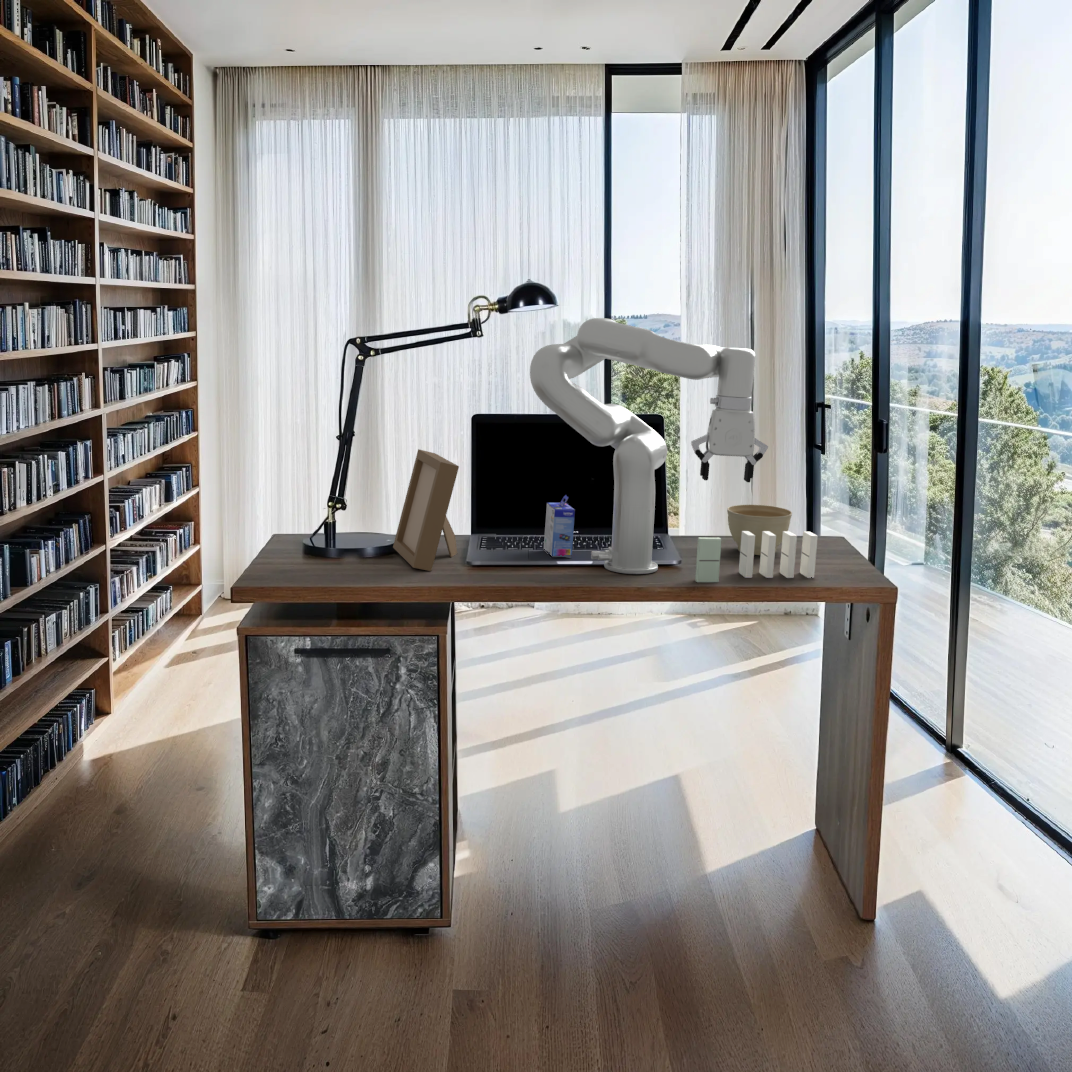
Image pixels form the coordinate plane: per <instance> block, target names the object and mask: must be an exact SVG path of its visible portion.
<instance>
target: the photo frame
mask: <svg viewBox="0 0 1072 1072" xmlns="http://www.w3.org/2000/svg"><path fill="white" fill-rule="evenodd" d="M459 468H460V466H459V465H457V464H455V463H453V462H452V461H450V460H448V459H447V458H445V457H443V456H441V455H439V454H437V453H436V452H435V453H434V452H430V451H427V450H424V449H423V450H422V449H419V448H418V449H417V453H416V456H415V461H414V465H413V467H412V472H411V476H410V480H409V483H408V487H407V491H406V494H405V499H404V503H403V507H402V510H401V514H400V518H399V522H398V526H397V531H396V533H395V538H394V541H393V546H392V548H393V549H394V550H395V551H396V552H397V553H398V554H399V555H400V556H401V558H403V559H404V560H405V561H406V562H407V563H408V564H409V565H410V566H411V567H412V568H413V569H417V570H418V569H419V570H425V571H428V572H432V570H433V567H434V563H435V559H436V554H437V552H438V551H437V550H438V547H439V544H440V540H441V536H442V533H443V536H444V541H445V544H446V547H447V551H448V555H449V557H450V558H453V557H454V556H456V555H457V554H458V549H457V539H456V535H455V532H454V530H453V527H452V525H451V524H450V521H449V519H448V517H447V514H448V510H449V507H450V502H451V498H452V494H453V491H454V487H455V483H456V480H457V476H458V472H459Z"/></svg>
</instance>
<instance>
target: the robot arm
mask: <svg viewBox="0 0 1072 1072" xmlns="http://www.w3.org/2000/svg"><path fill="white" fill-rule="evenodd" d="M605 359H607V360H611V361H616V362H620V363H624V364H629V365H632V366H636V367H639V368H643V369H645V370H646V369H647V370H650V371H651V370H652V371H656V372H659V373H662V374H667V375H671V376H675V377H680V378H684V379H688V380H693V381H694V380H695V381H698V380H704V379H711V378H718V382H717V390H716V391H717V392H716V395H715V397H710V399H709V403H710V405H714V406H715V408H713V409H712V411H711V415H710V418H709V422H708V427H707V433H706V434H705V435H702V436H700V437H698V438H696V439H694V440H691V441H690V444H691V445H690V446H691V447H692V449H693V452H694V453H693V454H695V455H696V457H697V458H698V459H699V460H700V469H699V471H700V472H699V475H700V476H701V478H702V480H704V481H708V480H709V474H710V473H709V472H710V465H711V464H710V462H709V460H710V459H711V458H712V457H714V456H722V457H723V456H724V457H741V458H742V457H744V458H745V459H746V460H747V461H746V463H745V465H744V474H743V480H744V481H745V482H746V483H751V479H753V477H754V470H755V465H757V463H758V462H759V461H760V460H761V459H763V457H764V455H765V454H766V452H767V450H768V448H769V446H768V445H767V444H766V443H764V442H762V441H761V440H759V439H758V438H755V431H756V429H755V423H756V422H755V414H754V411H751V406H752V405H751V404H752V393H753V385H754V374H755V366H756V365H755V364H756V353H755V351H754V350H753V349H751V348H744V347H743V348H742V347H722V346H718V345H714V344H709V343H707V344H706V343H705V344H703V343H702V344H701V343H700V344H694V343H688V342H683V341H681V340H680V341H679V340H676V339H675V340H674V339H671V338H666V337H664V336H661V335H659V334H657V333H655V332H654V331H653V330H651V329H648V328H644V327H640V326H633V325H629V324H626V323H625V324H624V323H620V322H617V321H615V320H613V319H611V318H605V317H598V318H597V317H596V318H595V317H593V318H590V319H587V320H585V321H584V322H583V323H582V324H581V325H580V326H579V328H578V330H577V334H576V335H575V336H574V337H572V338H570V339H569V340H568V341H565V342H563V343H555V344H553V343H552V344H547V345H545V346H543V347H541V348H539V349H538V350H537V351H536V352H535V353H534V355H533V356H532V359H531V361H530V367H529V378H530V383H531V387H532V389H533V391H534V393H535V395H536V396H537V397H538V398H539V400H540V402H542V403H543V404H544V405H545V406H546V407H547V408H548V409H550V410H551V411H552V412H554V414H555V415H557V416H558V417H560V419H562V420H563V421H564V422H565V423H566V424H567V425H569V426H570V427H571V428H572V429H573V430H575V432H577V433H579V435H581V436H582V437H584V438H585V439H586V440H587V441H588V442H590V443H591V444H592V445H594V446H596V447H607V446H611V447H612V448H614V449H615V450H614V453H613V459H612V461H613V462H612V465H613V480H614V485H613V489H614V490H613V512H612V513H613V514H612V535H611V546H608V549H604V551H599V550H598V551H597V550H592V551H591V552H590V554H591V555H590V558H591V559H590V560H598V561H604V563H603V566H604V568H605V569H606V570H608V571H609V572H610V571H611V572H615V573H619V574H628V575H645V574H652V573H654V572H657V571H658V568H659V566H658V563H656V562H655V561H653V560H652V559H653V558H652V557H653V546H654V545H653V541H654V524H655V510H656V508H655V506H656V481H655V480H656V477H655V470H657V469H659V468H660V467H661V466H662V465H663V464H664V463H665V461H666V459H667V456H668V446H667V444H666V441H665V439H664V438H663V436H661V435H660V434H659V432H657V431H656V430H655V429H653V427H651V426H649V425H648V424H647V423H646V422H644V421H643V420H642V419H641V418H639V417H638V416H637V415H636V414H634V413H633V412H631V411H630V410H629V409H627V408H626V407H624V406H622V405H619V404H617V403H602V402H601V401H599V400H598V399H596V398H595V397H594V396H592V395H591V394H590V393H589V392H587V391H586V390H585V389H584V388H582V387H581V386H579V385H577V384H575V382H573V381H572V380H571V379H574V378H576V377H578V376H579V375H582V374H583V373H585V372H587V371H588V370H589V369H591V368H593V367H594V366H597V365H598V364H599V363H601V362H603V361H604V360H605ZM704 443H705V451H704V452H702V450H701V449H700V445H702V444H704ZM755 446H757V447H758V450H757V452H756V453H754V451H755Z"/></svg>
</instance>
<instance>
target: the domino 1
mask: <svg viewBox="0 0 1072 1072" xmlns="http://www.w3.org/2000/svg"><path fill="white" fill-rule="evenodd" d="M721 553H722V538H721V537H707V536H706V537H697V548H696V560H695V563H696V564H695V577H694V580H695V582H697V583H719V582H720V581H719V579H720V569H721V568H720V567H721V566H720V564H721Z"/></svg>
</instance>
